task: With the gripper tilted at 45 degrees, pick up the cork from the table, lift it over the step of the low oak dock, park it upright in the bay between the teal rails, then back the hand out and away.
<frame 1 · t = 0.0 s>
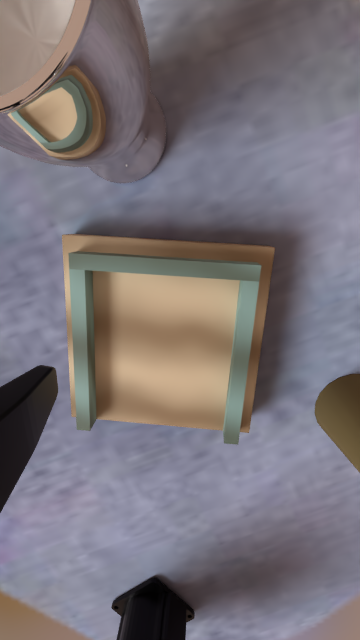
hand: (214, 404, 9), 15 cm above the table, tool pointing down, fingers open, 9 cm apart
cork: (352, 406, 26), on the table
silver metal tumbler: (121, 134, 21), on the table
dock: (165, 332, 25), on the table
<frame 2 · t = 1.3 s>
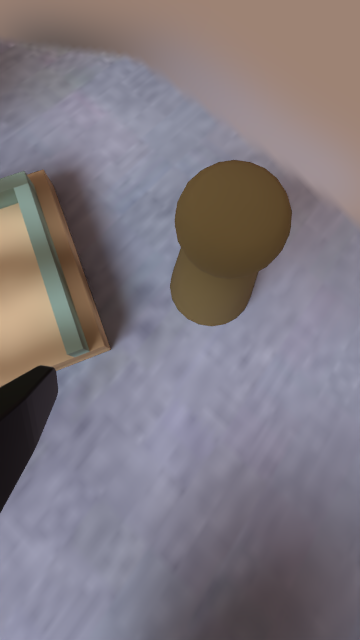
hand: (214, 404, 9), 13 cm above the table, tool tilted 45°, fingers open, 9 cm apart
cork: (210, 287, 24), on the table
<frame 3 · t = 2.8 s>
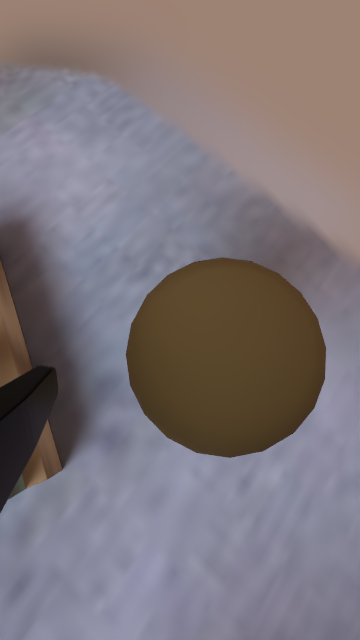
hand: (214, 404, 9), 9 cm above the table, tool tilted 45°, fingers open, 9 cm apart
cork: (198, 376, 18), on the table
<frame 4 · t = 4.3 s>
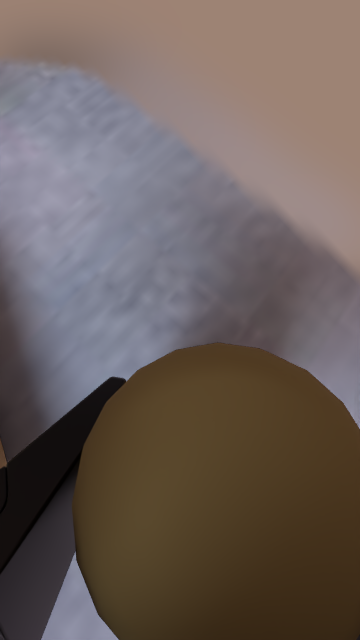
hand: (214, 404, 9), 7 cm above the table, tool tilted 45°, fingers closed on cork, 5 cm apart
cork: (193, 430, 15), on the table, touching gripper
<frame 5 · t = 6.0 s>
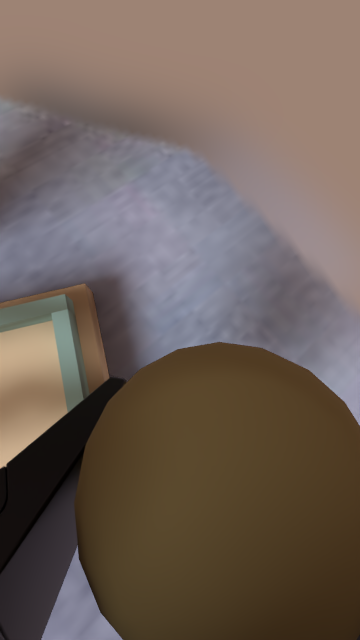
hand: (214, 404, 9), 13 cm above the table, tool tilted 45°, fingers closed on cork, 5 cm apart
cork: (195, 429, 15), point 6 cm above the table, touching gripper
dock: (9, 412, 21), on the table
when the fingers open (10 cm above the table, at t = 8.0 s): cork drops 1 cm, resting on dock.
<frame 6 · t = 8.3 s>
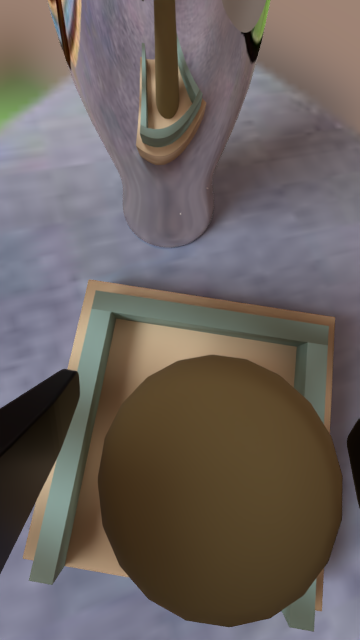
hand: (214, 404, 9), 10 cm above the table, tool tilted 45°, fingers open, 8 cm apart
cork: (194, 428, 16), point 2 cm above the table, touching dock
silver metal tumbler: (168, 208, 22), on the table
dock: (190, 423, 18), on the table
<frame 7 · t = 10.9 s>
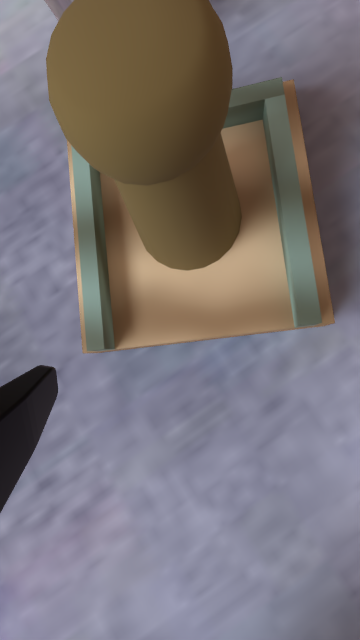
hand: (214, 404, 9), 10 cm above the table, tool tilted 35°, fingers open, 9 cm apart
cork: (188, 220, 18), point 2 cm above the table, touching dock
silver metal tumbler: (121, 60, 23), on the table
dock: (191, 231, 20), on the table
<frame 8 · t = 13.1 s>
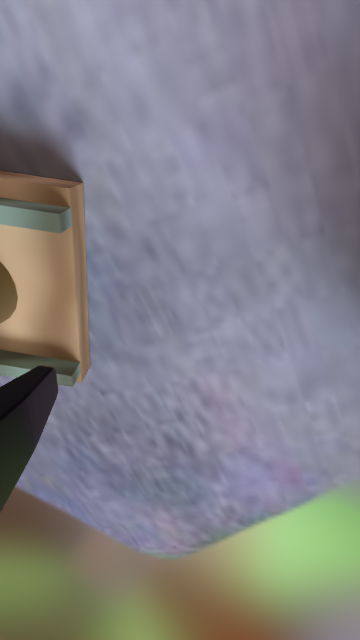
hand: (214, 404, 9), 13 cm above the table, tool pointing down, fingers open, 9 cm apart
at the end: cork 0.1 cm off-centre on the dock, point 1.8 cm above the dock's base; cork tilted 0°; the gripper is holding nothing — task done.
